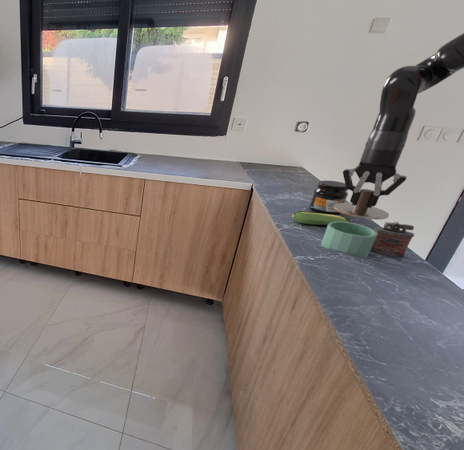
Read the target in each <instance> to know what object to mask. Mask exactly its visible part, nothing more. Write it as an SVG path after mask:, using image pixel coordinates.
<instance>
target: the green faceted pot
mask: <svg viewBox="0 0 464 450" xmlns="http://www.w3.org/2000/svg"><path fill="white" fill-rule="evenodd" d="M349 222H350V221H349ZM349 222H330V223H329V224H328V225H326V228H325V231H324V235H323V238H322V240H321V243H320V246H321V248H325V249H327V250H331V251H336V252H339V253H343V254H346V255H350V256H354V257H358V258H361V259H367V258H368V257H369V254H370V253H371V251H370V250H371V248H372V246H373V243H374V241H375V239H376V236H377V234H378V233H377V232H376V231H377V230H376V229H373V228H371V227H368V226H366V225H362V224H359V223H354V222H350V223H349Z"/></svg>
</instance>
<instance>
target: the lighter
mask: <svg viewBox="0 0 464 450" xmlns="http://www.w3.org/2000/svg"><path fill="white" fill-rule="evenodd" d="M414 229H415V226H414V225H413V224H405V223H399V221H398V222H397V221H393V222H388V221H384V224H383V227H382V226H381V227H380V226H378V227H377V228H376V229H375V231H376V232H377V233H378V234H377V236H376V239H375V241H374V243H373V246H372V248H371V250H370V252H372V253H376V254H381V255H385V256H390V257H397V258H404V257H405V255H406V254H405V253H406V251H407V249H408V247H409V246H410V245H409V244H410V242H411V241H412V238H414V236H415V233H414V232H411V231H414Z"/></svg>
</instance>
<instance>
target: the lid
mask: <svg viewBox="0 0 464 450" xmlns="http://www.w3.org/2000/svg"><path fill="white" fill-rule="evenodd" d="M359 192H360V193H359V196H358V198H357V201H356V204H355V205H352V203H351V202H345V203H338V204H335V205H334V206H333V209H334V210H336V211H337V212H340V214H343V215H345V216H349V217H353V218H357V219H363V220H364V219H365V220H386V219H388V218H389V216H390V214H389V212H387V211H385V210H384V209H381V208H378V207H376V206H374V207H373V206H372V207H371V208H368V206H369V203H370V201H371V198H372V196H373V194H374V190H373V189H367V188H361V189H360V191H359Z"/></svg>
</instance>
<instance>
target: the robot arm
mask: <svg viewBox="0 0 464 450" xmlns="http://www.w3.org/2000/svg"><path fill="white" fill-rule="evenodd" d="M462 69H464V32H463V33H461V34H459V35H457V36H456V37H454V38H453V39H451V40H449V41H448V42H446V43H444V44H443V45H441V46H440V47H439V48H438V50H437V51H436V53H434V54H432V55H431V56H429V57H427V58H425V59H424V60H422V61H421V62H419V63H417V64H415V65H406V66H402V67H399V68H397V69H395V70H394V71H393V72H391V73H390V74H389V76H388V77H387V78H386V80H385V82H384V84H383V87H382V90H381V94H380V101H379V112H378V114H377V117H376V118H375V123H374V125H373V128H372V130H371V132H370V133H369V136H368V138H367V141H366V142H365V146H364V149H363V152H362V154H361V158H360V160H359V163H358V165H356V167H353V168H345V169H344V170H343V171H342V175H343V180H344V183H345V185H346V189H348V191H351V192H352V193H351V197H350V200H349V203H352V205H355V204H356V201H357V198H358V196H359V193H360V190H361V189H362V188H363V186H364V185H365V183H366V184H367V183H370V184H374V190H373V191H374V194H373V196H372V198H371V201H370V203H369V206H368V208H371V207H376V206H377V204H378V202H379V199H380V197H381V196H389V195H390V194H391V193H393V192H394V191H395V190H396V189H397V188H398V187H399V186H401V185H402V184H403V183H404V182H406V180H407V175H402V174H400V173H397V168H396V167H397V165H398V162H399V160H400V158H401V155H402V153H403V150H404V148H405V145H406V143H407V139H408V136H409V132H410V129H411V127H412V124H413V122H414V119H415V117H416V111H417V110H416V108H415V107H414V106H415V103H416V100H417V97H418V94H421V93H423V92H425V91H427V90H429V89H432V87H434V86H436V85H438V84H440V83H442V82H443V81H444V80H446V79H448V78H450V77H451V76H453V75H454V74H456V73H457V72H458V71H461V70H462ZM355 173H356V175H357V177H358V179H359V180H358V182H357V183H356V185H354V184H353V179H352V177H353V176H354V174H355ZM392 177H393V178H392ZM391 178H392V183H391V184H390V185H389V186H388V187H387V188H386V189H383V183H384V182H385V181H387V180H389V179H391Z"/></svg>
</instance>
